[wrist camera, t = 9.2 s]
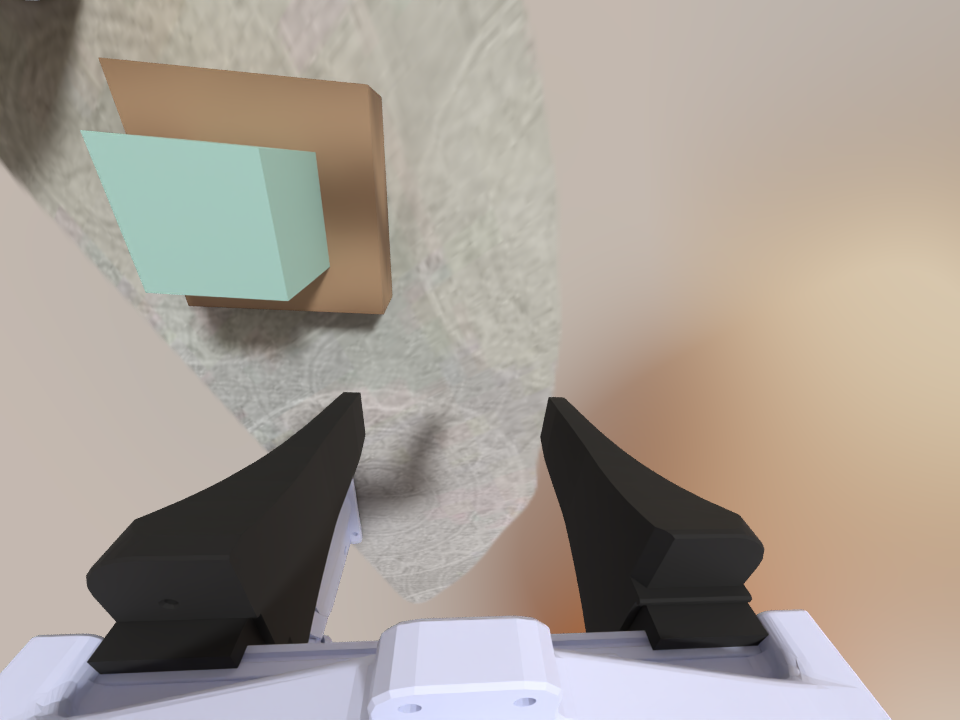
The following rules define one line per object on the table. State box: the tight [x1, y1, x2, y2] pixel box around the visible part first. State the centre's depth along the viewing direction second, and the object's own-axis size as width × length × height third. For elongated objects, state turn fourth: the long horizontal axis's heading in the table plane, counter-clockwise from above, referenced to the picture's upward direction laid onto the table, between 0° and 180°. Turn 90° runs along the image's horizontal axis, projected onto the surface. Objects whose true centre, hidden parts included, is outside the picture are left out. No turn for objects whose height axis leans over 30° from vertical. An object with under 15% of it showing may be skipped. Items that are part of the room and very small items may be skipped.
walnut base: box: [99, 58, 392, 314], centre depth 17 cm, size 10×10×3 cm
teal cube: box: [80, 130, 330, 301], centre depth 14 cm, size 5×5×5 cm
